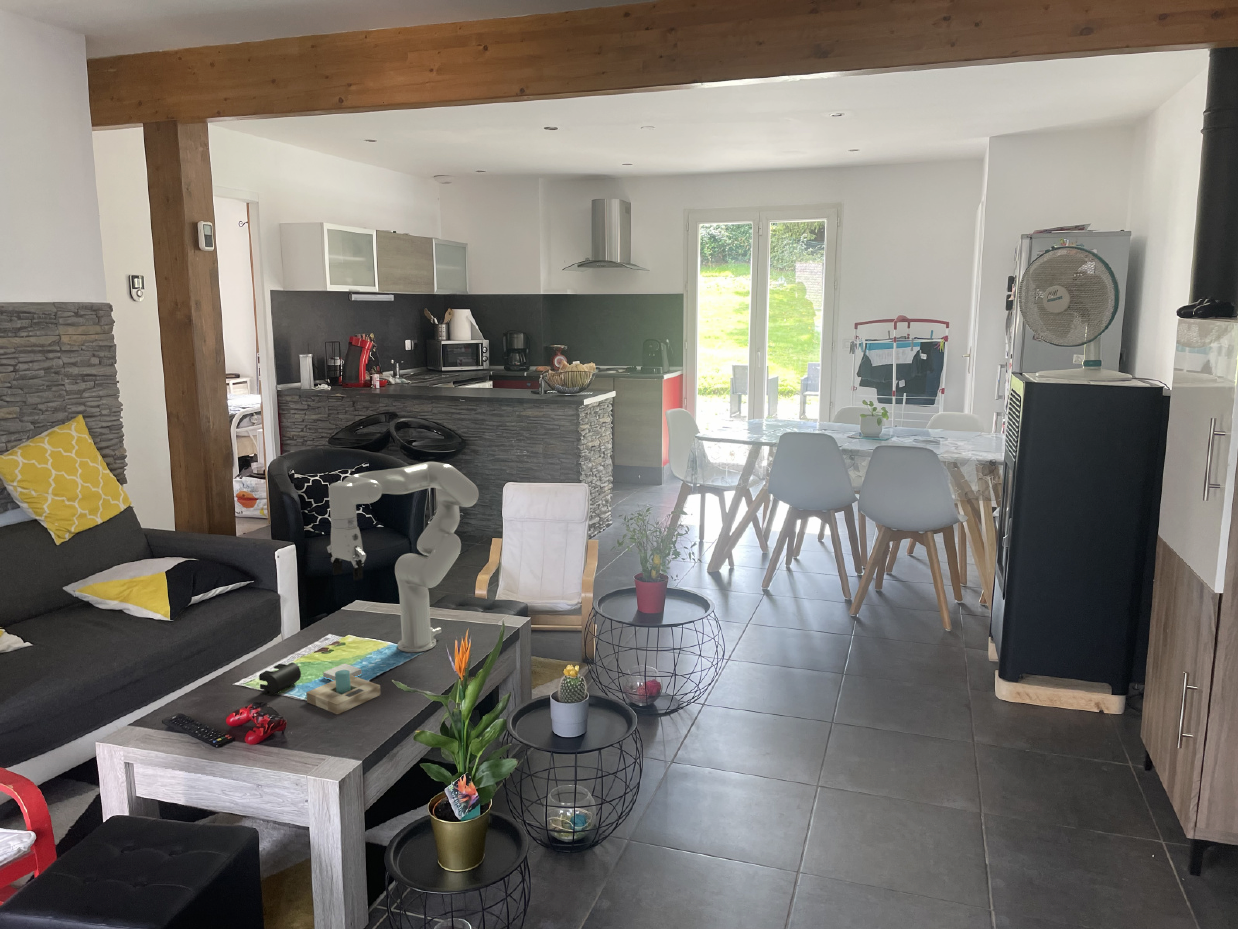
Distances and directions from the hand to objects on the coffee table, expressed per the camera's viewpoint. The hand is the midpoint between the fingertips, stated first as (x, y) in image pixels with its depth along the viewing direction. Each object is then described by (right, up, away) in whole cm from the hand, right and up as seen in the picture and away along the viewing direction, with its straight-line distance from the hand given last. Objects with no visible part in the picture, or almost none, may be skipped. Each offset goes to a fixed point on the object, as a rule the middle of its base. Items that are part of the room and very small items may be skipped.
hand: (348, 576), depth 269 cm
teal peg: (+4, -34, -16) cm, 37 cm away
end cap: (-17, -33, -9) cm, 38 cm away
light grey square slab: (-2, -31, -1) cm, 31 cm away
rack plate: (+4, -33, -16) cm, 37 cm away
